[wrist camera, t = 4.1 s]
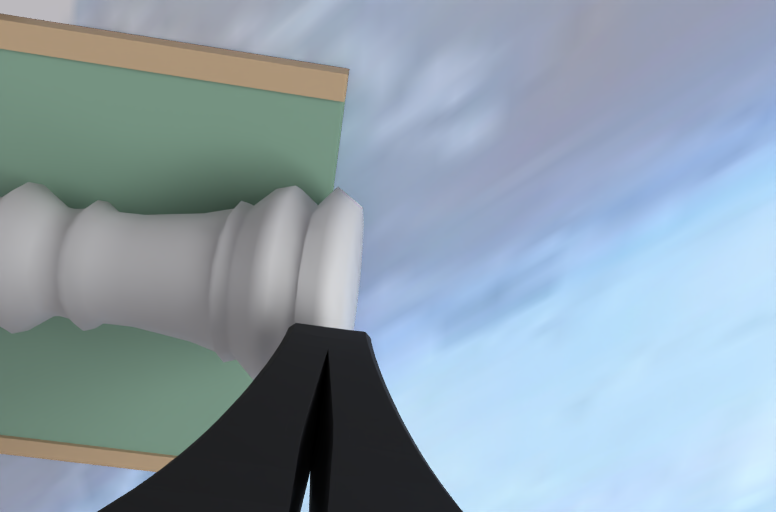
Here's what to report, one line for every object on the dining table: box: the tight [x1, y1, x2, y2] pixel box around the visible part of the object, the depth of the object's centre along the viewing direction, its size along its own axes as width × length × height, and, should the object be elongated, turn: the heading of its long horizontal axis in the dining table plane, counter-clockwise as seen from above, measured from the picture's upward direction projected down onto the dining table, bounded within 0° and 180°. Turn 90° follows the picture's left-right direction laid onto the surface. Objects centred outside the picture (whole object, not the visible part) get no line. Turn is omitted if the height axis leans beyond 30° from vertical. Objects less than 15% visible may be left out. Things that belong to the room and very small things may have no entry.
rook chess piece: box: [0, 182, 363, 380], centre depth 16 cm, size 4×4×8 cm
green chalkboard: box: [0, 14, 349, 472], centre depth 18 cm, size 12×9×1 cm
